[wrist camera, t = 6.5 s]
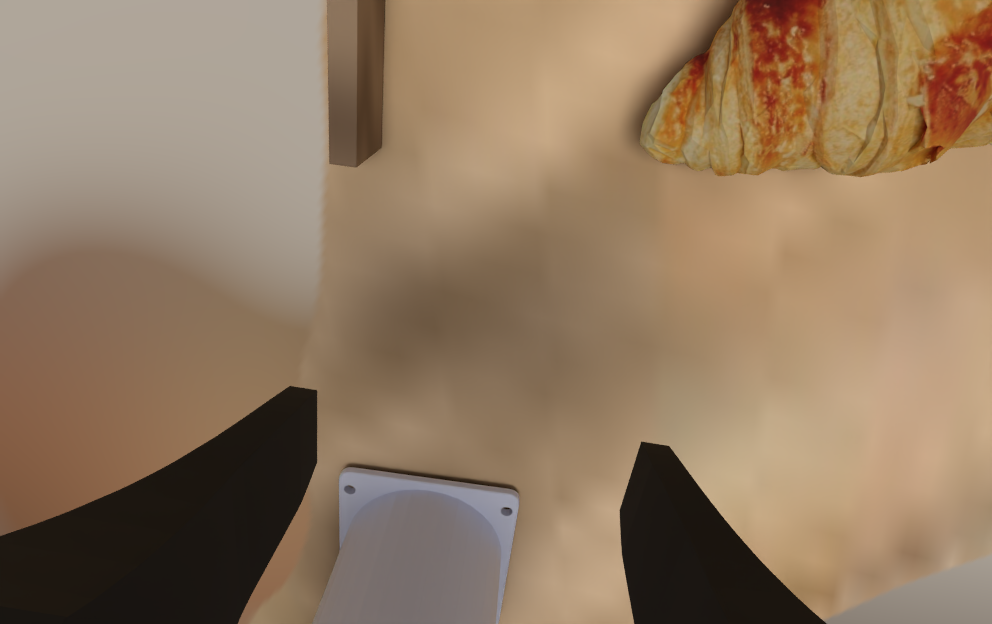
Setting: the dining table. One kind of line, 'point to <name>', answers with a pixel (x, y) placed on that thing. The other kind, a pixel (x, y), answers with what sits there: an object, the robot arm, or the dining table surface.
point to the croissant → (830, 88)
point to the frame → (355, 79)
